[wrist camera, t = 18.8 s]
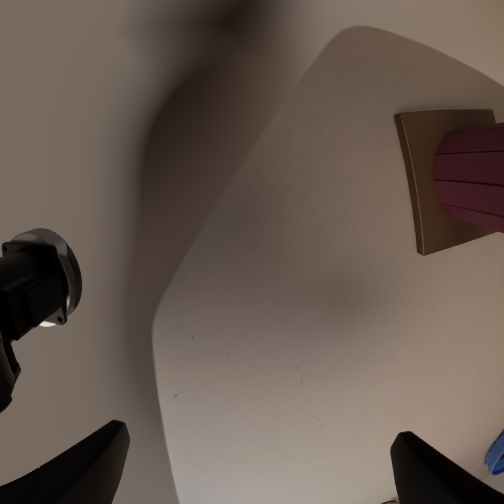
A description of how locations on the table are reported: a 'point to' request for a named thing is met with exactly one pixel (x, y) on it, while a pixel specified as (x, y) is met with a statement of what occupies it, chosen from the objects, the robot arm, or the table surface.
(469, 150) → the maroon grooved cylinder
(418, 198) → the hat stand
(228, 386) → the table surface
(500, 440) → the bowl
